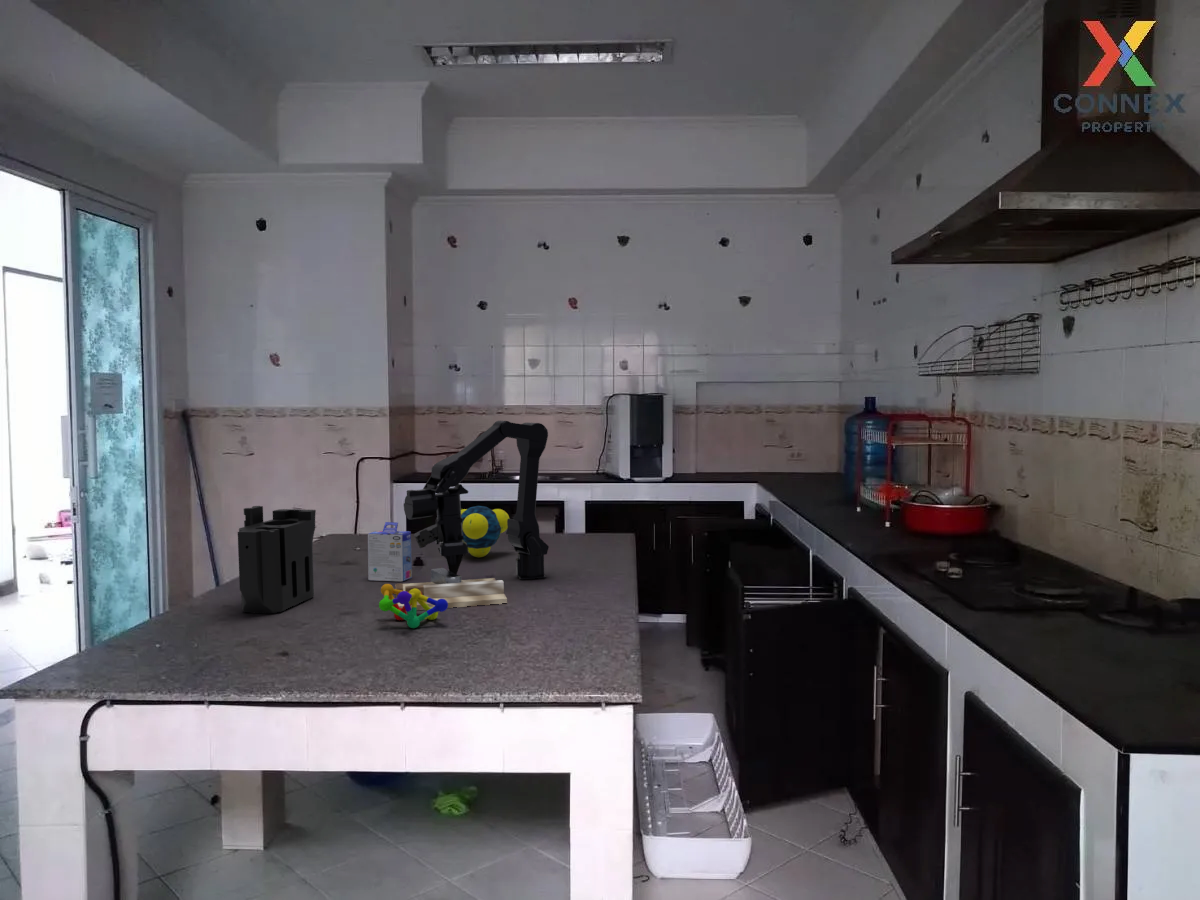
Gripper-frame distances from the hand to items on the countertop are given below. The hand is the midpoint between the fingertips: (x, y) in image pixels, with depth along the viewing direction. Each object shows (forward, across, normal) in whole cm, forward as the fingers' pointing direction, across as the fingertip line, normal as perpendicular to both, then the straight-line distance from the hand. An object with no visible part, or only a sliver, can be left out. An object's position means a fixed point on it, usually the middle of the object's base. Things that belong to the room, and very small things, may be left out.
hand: (453, 577), depth 203 cm
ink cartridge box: (+2, -16, -15) cm, 22 cm away
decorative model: (+2, +28, -11) cm, 31 cm away
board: (+3, +8, -2) cm, 8 cm away
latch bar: (+1, +4, -2) cm, 5 cm away
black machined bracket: (+1, +4, -41) cm, 41 cm away
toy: (+4, -36, +11) cm, 38 cm away
